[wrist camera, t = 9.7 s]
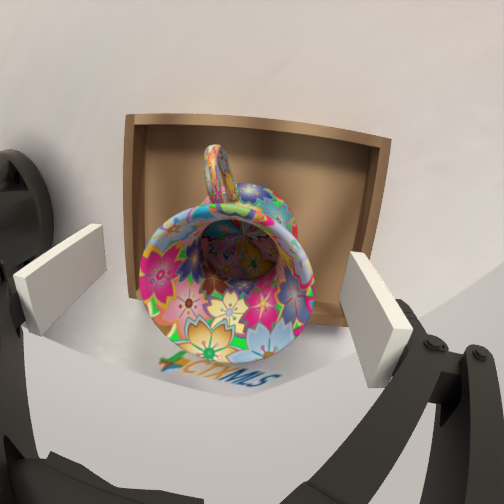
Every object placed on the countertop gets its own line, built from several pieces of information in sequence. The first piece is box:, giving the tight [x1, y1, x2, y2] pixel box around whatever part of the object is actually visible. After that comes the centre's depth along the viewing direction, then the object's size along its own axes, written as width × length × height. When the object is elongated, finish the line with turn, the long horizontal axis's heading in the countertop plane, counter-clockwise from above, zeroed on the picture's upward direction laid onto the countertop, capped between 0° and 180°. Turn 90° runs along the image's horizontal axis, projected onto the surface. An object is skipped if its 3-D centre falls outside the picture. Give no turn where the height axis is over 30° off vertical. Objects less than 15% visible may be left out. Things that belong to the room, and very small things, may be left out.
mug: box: [139, 145, 315, 363], centre depth 20 cm, size 12×9×11 cm
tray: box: [123, 114, 391, 327], centre depth 24 cm, size 20×16×3 cm
